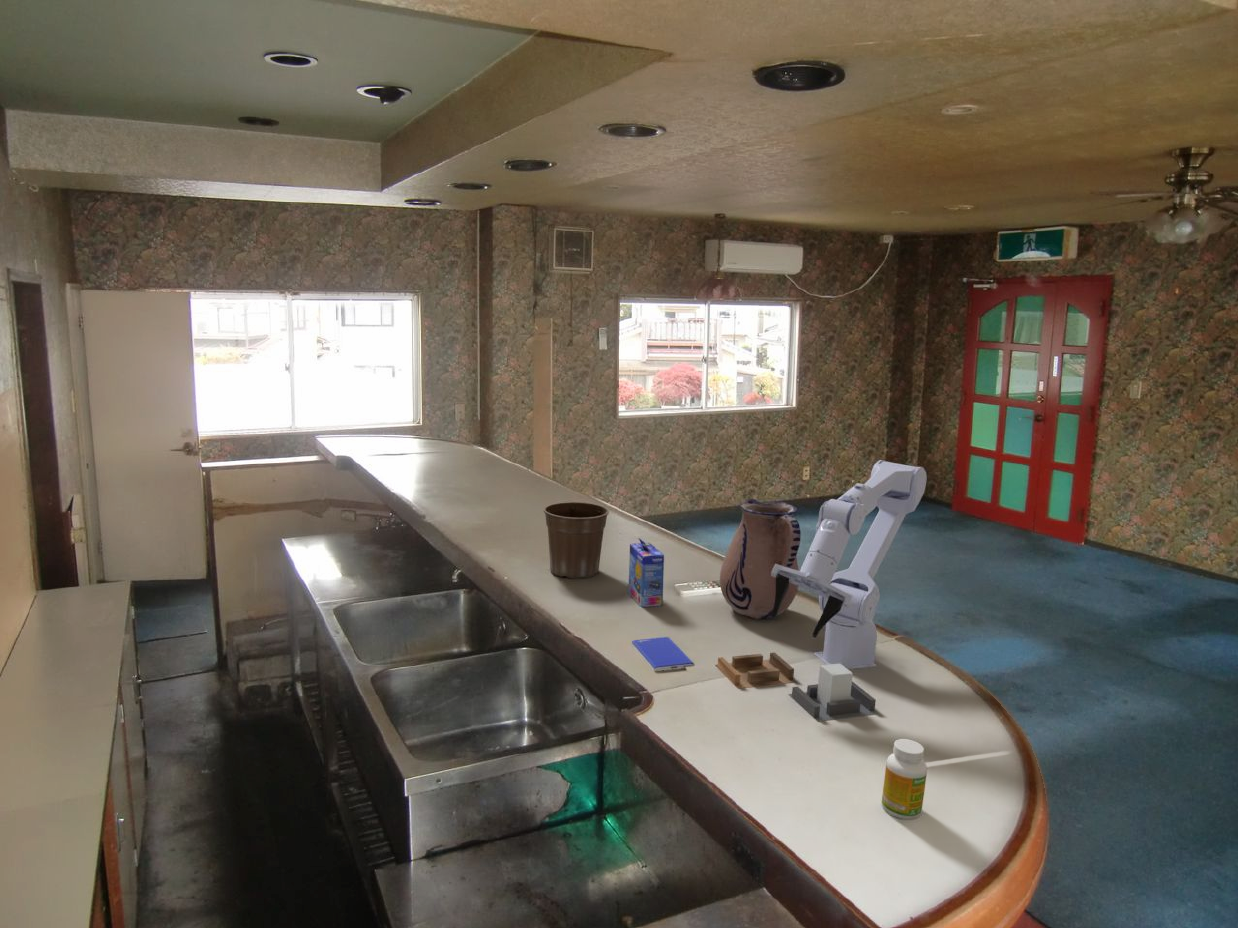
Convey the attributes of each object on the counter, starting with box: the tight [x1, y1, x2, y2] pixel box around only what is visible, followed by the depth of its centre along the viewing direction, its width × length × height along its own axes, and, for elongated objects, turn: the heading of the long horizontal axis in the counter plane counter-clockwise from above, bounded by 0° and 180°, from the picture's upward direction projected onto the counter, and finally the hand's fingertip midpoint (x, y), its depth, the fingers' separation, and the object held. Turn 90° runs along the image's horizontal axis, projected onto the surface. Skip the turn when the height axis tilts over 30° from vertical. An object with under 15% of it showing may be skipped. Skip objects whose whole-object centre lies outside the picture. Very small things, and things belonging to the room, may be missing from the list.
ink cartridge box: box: [627, 537, 665, 608], centre depth 194 cm, size 10×6×14 cm, turn 18°
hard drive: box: [631, 636, 695, 672], centre depth 165 cm, size 2×8×12 cm
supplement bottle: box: [881, 738, 928, 820], centre depth 118 cm, size 5×5×10 cm
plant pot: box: [543, 501, 610, 579], centre depth 211 cm, size 16×16×16 cm
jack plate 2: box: [788, 680, 879, 723], centre depth 148 cm, size 12×10×2 cm
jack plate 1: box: [714, 652, 797, 690], centre depth 158 cm, size 12×10×2 cm
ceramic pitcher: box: [719, 498, 802, 620], centre depth 187 cm, size 18×21×25 cm
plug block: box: [817, 664, 854, 708], centre depth 147 cm, size 4×4×6 cm
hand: (793, 626), depth 148 cm, fingers open, 7 cm apart
